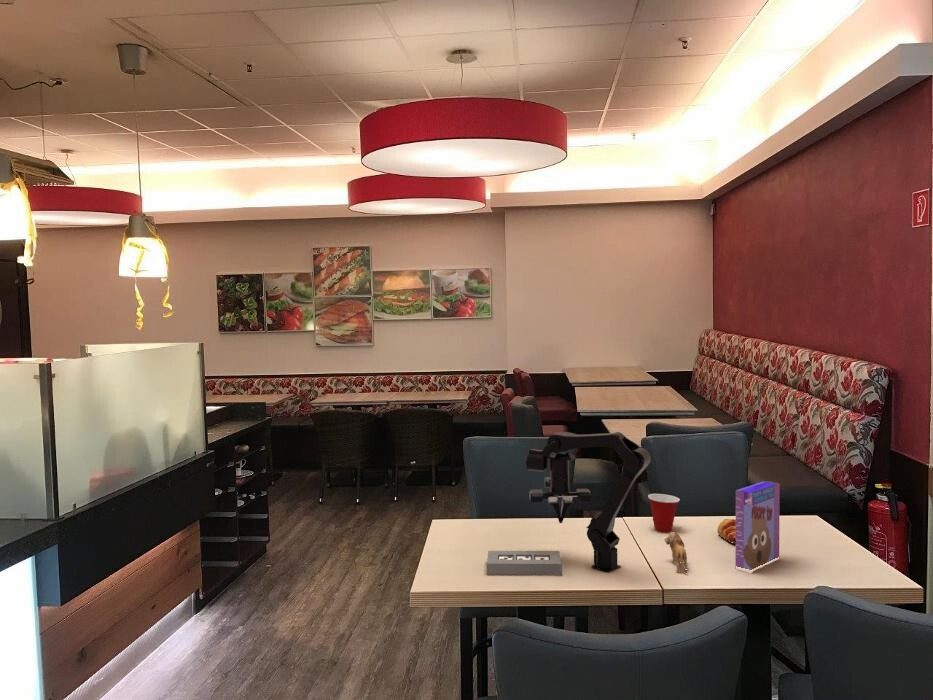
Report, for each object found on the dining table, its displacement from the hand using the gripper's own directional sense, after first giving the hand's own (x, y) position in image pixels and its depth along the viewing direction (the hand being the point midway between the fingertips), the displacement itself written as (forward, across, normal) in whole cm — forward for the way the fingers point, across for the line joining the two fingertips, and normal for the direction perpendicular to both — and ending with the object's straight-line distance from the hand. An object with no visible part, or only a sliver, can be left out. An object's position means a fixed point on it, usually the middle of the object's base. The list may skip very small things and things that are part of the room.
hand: (560, 522), depth 238 cm
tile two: (+11, +12, +7) cm, 17 cm away
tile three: (+11, +17, +7) cm, 22 cm away
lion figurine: (+12, -34, +6) cm, 37 cm away
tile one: (+11, +6, +7) cm, 14 cm away
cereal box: (+13, -59, +5) cm, 60 cm away
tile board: (+12, +12, +7) cm, 18 cm away
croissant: (+13, -60, -23) cm, 65 cm away
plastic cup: (+12, -39, -31) cm, 51 cm away
